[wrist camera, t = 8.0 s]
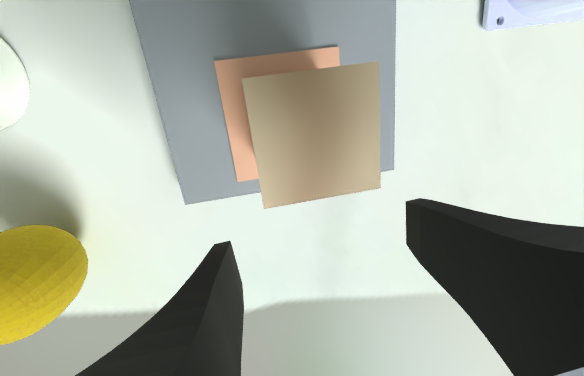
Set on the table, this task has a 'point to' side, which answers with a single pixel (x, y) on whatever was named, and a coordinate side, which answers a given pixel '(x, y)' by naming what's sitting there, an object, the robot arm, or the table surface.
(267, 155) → the peg
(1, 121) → the beer glass
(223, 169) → the pocket board
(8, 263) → the lemon
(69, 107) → the table surface
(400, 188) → the table surface
